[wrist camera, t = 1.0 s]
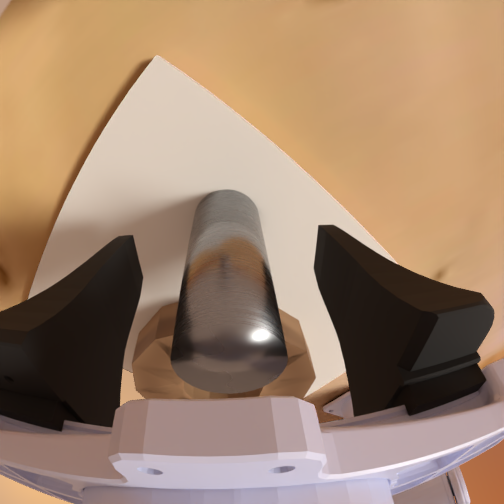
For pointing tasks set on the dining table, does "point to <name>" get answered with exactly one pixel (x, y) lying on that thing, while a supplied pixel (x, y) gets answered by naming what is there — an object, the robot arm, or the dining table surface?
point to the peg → (227, 301)
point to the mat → (196, 203)
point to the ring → (173, 387)
